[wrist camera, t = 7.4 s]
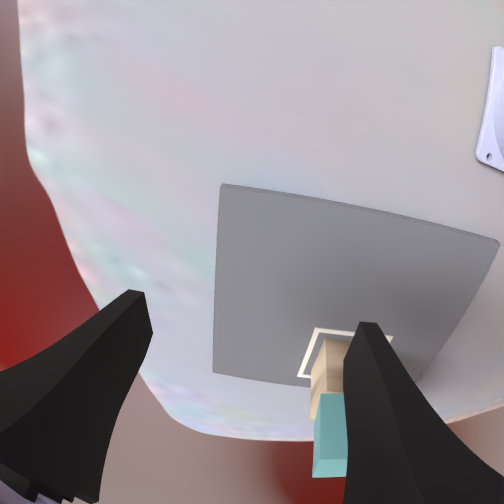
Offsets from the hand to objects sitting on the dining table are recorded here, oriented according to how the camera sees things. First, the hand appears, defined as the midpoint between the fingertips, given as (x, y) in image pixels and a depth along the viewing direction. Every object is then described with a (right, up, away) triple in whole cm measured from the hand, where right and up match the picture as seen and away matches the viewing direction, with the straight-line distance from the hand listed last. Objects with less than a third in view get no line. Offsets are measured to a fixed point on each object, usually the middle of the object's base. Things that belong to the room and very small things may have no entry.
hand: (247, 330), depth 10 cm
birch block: (+8, -6, +14) cm, 17 cm away
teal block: (+7, -9, +9) cm, 15 cm away
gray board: (+7, -3, +12) cm, 14 cm away
